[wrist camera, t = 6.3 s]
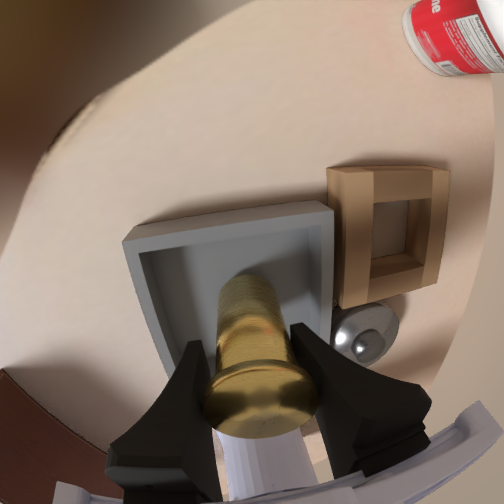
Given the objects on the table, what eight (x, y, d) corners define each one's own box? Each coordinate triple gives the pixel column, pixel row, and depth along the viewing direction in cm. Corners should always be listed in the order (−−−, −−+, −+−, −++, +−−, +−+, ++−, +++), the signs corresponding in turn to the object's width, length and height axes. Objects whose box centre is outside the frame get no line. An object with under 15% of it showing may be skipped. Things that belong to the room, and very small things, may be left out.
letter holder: (2, 365, 17) (-47, 468, 4) (129, 464, 25) (125, 555, 12) (-20, 384, 18) (-58, 462, 5) (87, 469, 25) (78, 543, 12)
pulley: (381, 346, 21) (396, 366, 19) (317, 364, 21) (329, 389, 18) (392, 287, 19) (412, 305, 17) (320, 304, 19) (336, 328, 16)
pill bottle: (425, 0, 11) (527, -30, 1) (465, 63, 13) (571, 61, 3) (383, 16, 12) (506, -32, 1) (431, 89, 14) (563, 90, 4)
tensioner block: (417, 269, 19) (436, 282, 17) (327, 290, 18) (342, 309, 16) (426, 165, 16) (449, 171, 14) (326, 168, 15) (345, 172, 13)
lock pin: (283, 325, 17) (313, 430, 10) (216, 331, 17) (213, 441, 10) (283, 264, 15) (324, 367, 8) (206, 271, 15) (192, 381, 8)
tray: (315, 340, 20) (327, 363, 17) (175, 363, 19) (174, 389, 16) (315, 199, 16) (333, 210, 13) (134, 226, 15) (121, 242, 12)
